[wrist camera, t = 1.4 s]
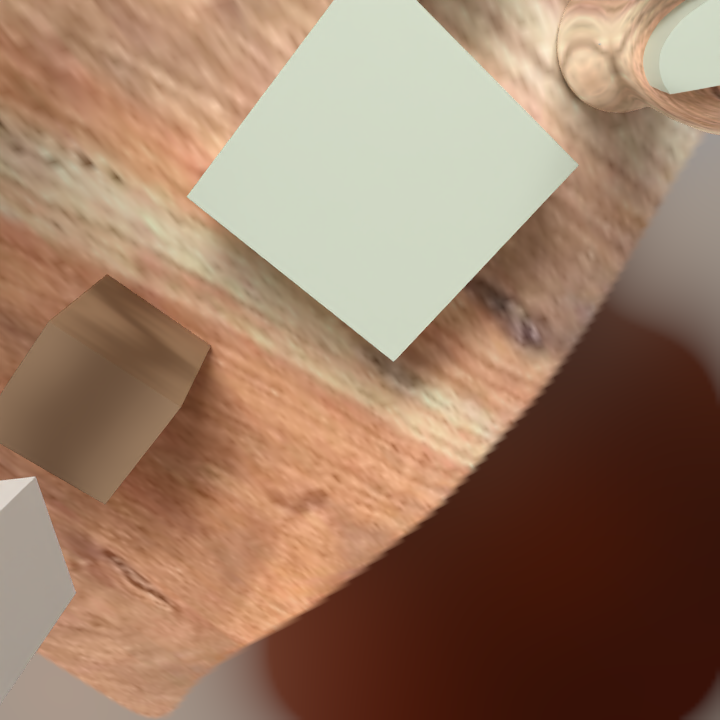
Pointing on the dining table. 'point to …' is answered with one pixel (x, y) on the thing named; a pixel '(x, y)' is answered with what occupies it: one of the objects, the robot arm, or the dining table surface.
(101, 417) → the walnut block
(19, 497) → the robot arm
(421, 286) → the pedestal block
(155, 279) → the dining table surface
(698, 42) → the beer glass
